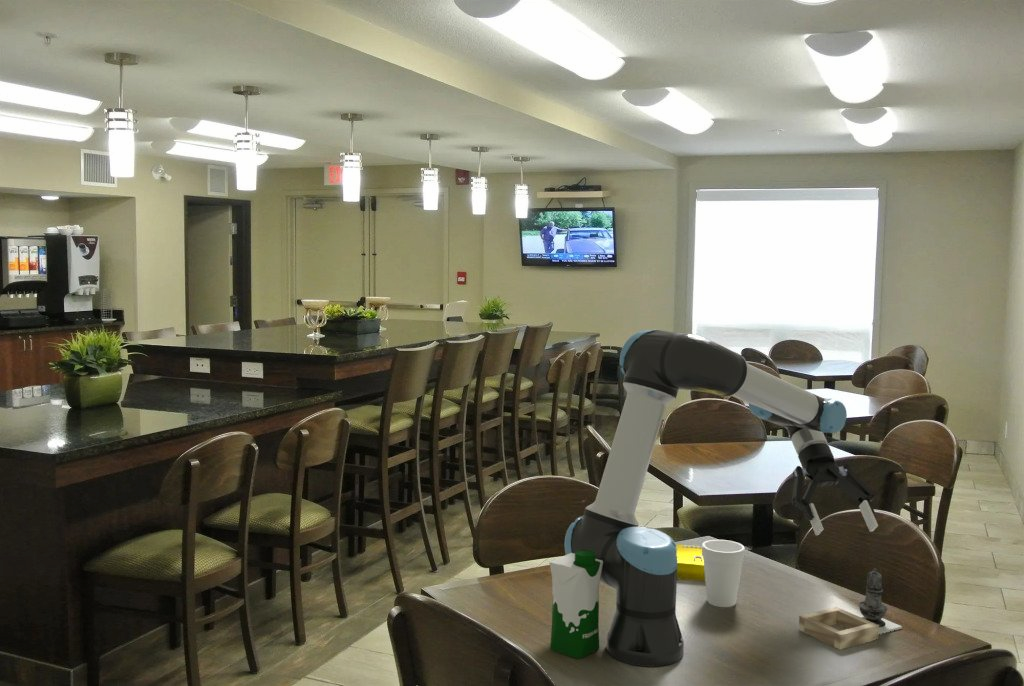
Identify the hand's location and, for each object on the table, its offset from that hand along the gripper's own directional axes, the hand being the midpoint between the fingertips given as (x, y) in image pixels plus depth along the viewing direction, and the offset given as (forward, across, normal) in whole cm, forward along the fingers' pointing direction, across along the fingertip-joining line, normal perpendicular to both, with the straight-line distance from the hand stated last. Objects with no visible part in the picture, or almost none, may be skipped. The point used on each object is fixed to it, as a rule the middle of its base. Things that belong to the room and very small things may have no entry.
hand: (847, 530), depth 201 cm
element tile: (-8, +23, -34) cm, 42 cm away
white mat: (+20, 0, -5) cm, 20 cm away
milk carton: (+19, +66, -6) cm, 69 cm away
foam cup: (+7, +26, -18) cm, 32 cm away
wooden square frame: (+22, +10, -3) cm, 24 cm away
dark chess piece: (+20, 0, -5) cm, 20 cm away
